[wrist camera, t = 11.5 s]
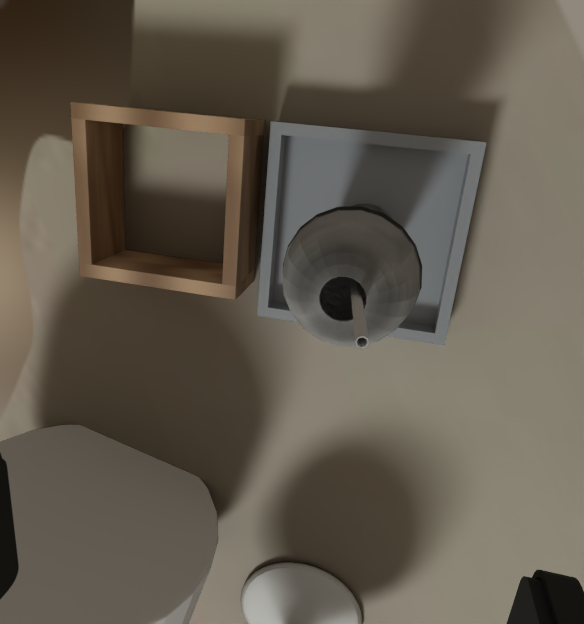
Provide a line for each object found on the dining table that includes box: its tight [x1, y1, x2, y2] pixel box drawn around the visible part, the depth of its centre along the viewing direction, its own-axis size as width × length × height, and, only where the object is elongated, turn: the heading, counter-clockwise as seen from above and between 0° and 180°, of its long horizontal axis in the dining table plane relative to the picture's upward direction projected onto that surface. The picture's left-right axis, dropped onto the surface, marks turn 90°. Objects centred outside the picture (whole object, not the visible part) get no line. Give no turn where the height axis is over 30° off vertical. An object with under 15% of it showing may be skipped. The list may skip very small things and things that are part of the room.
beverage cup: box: [282, 204, 422, 348], centre depth 29 cm, size 7×7×20 cm
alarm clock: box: [0, 425, 218, 624], centre depth 42 cm, size 21×8×20 cm, turn 71°
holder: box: [71, 102, 265, 300], centre depth 38 cm, size 12×12×5 cm
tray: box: [257, 121, 487, 345], centre depth 38 cm, size 14×14×2 cm
